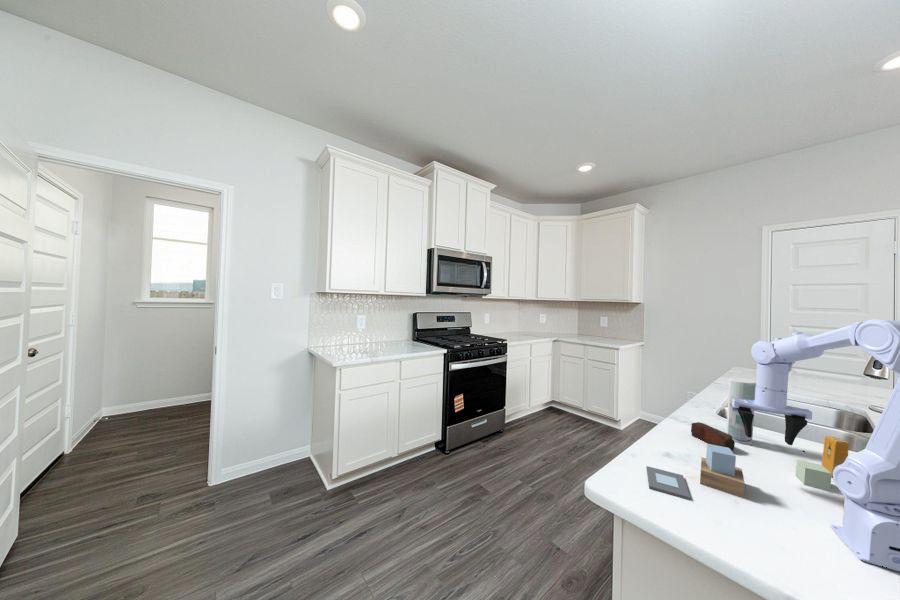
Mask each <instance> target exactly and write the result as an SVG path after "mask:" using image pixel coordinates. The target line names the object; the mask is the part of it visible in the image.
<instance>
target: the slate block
mask: <svg viewBox="0 0 900 600" xmlns="http://www.w3.org/2000/svg"><path fill="white" fill-rule="evenodd" d="M705 458H706V463H707V465H708V467H709V468H710V470H711V471H713V472H718V473H722V474H727V475H731V476H735V467H736V459H737V456H736V455H735V453H734V452H733V450H730V448H727V447H722V446H717V445H712V444H708V443H706V454H705Z"/></svg>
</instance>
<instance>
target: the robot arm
mask: <svg viewBox="0 0 900 600" xmlns="http://www.w3.org/2000/svg"><path fill="white" fill-rule="evenodd" d="M853 346H854V347H860V348H861V349H862V350H863V351H865V352H866V353H867V354H869V355H870V356H871V357H873V358H874V359H876V360H877V361H879V363H880V364H882V365H884V366H885V367H886V368H887V369H889V370H891V371H893V372H894V373H895V374H896V376H897V377H898V379H897V381H896V382H895V385H894V388H893V390H892V392H891V393H890V396H889V398H888V400H887V402H886V404H885V406H884V407H883V411H882V412H881V414H880V417H879V419H878V421H877V422H876V425H875V427H874V428H873V431H872V433H871V435H870V437H869V439H868V442H867V443H866V446H865V447H864V449H862V450H860V451H858V452H855V453H852V454H850V455H848V457H847V458H846V460H845V462H844V463H843V464H841V465H838V466H837V467H835V469H834V470H833V481H834V483H835V485H836V487H837V488H838V489H839V491H840V494H841V495H843V496H844V501H843V503H844V504H843V514H842V525H841V526H840V525H839V526H838V525H835V524H830V528H831V529H832V531H834V533H835V534H837V536H838V537H839V538H840V539H841V540H842V541H843V543H844V544H845V545H846V546H847V547H848V548H849V549H850V551H851V552H852V553H853V554H854V555H855V556H856V557H857V559H859V560H860V561H862V560H863V562H865V561H866V563H869V564H873V565H876V566H879V567H882V566H883V567H882V568H886V567H887V568H886V569H890V570H893V571H897V572H900V320H890V319H889V320H886V319H881V318H880V319H879V318H878V319H877V318H876V319H875V318H873V319H868V320H865V321H857V322H852V324H850V325H847V326H843V327H840V328H837V329H833V330H829V331H826V332H823V333H820V334H816V335H814V334H811V333H806V332H802V331H796V332H792V333H791V336H787V337H784V338H783V337H776V338H774V340H772V341H763V340H758V342H755V343H754V344H752V346H751V350H750V351H751V352H750V353H751V356H752V358H753V360H754V361H755V362H756V373H755V374H756V375H755V382H756V389H755V400H743V399H733V398H732V406H733V407H734V408H736V409H737V411H738V413H739V415H740V417H741V419H742V422H743V425H744V429H745V435H746V436H747V437H750V438H751V436H752V422H753V417H754V418H755V414H754V415H753V414H752V411H751V410H754V411H758V412H765V413H771V414H778V415H784V420H785V431H784V443H786V444H787V445H788V446H793V444H794V442H795V439H796V438H797V436H798V434H799V433H800V432H801V431H802V430H803V429H804V428H806V426H807V425H808V420H812V419H813V411H811V410H810V409H808V408H801V407H795V406H790V405H787V400H788V389H789V388H788V386H789V373H791V371H792V370H793V369H792V367H793V365H794V364H795V363H796V362H799V361H805V360H809V359H816V358H820V357H822V356H823V355H824V353H825V351H828V350H834V349H839V348H840V349H841V348H846V347H847V348H848V347H853Z"/></svg>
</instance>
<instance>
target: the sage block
mask: <svg viewBox="0 0 900 600" xmlns="http://www.w3.org/2000/svg"><path fill="white" fill-rule="evenodd" d="M795 477H796V478H797V479H798V480H799V481H800V483H802V484H803V486H807V487H813V488H816V489H821V490H825V491H829V492H830V491H831V483H832V477H831V473H830V472H829V471H828V470H827V469H826V468H825V467H823V466H822V464H820V463H814V462H810V461H805V460H801V459H796V465H795Z"/></svg>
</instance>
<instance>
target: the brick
mask: <svg viewBox="0 0 900 600" xmlns="http://www.w3.org/2000/svg"><path fill="white" fill-rule="evenodd" d="M690 432H691V436H692V437H693V438H695V439H697V438H698V440H699V439H700V440H699V441H701V440H702V441H701V442H703V441H704V442H703V443H705V444H712V445H717V446H722V447H727V448H730V450H731V451H734V449H735V443H736V442H734V440H733V439H732V436H731V435H729V434H727V432H725V431H724V432H723V431H721V430H719V429H717V428H714V427H712V426H710V425H709V424H706V423H703V422H701V421H700V422H692V423H691V427H690Z"/></svg>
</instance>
